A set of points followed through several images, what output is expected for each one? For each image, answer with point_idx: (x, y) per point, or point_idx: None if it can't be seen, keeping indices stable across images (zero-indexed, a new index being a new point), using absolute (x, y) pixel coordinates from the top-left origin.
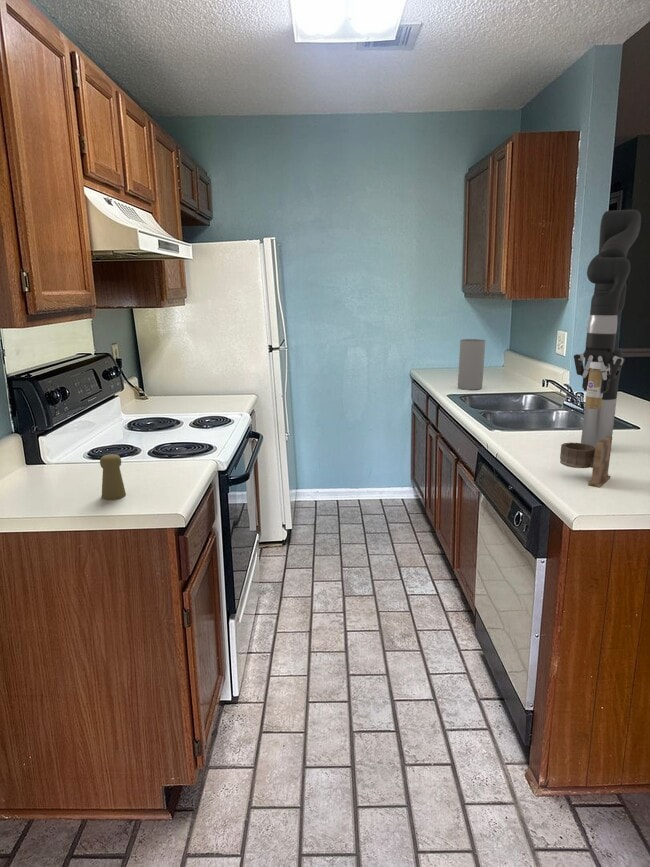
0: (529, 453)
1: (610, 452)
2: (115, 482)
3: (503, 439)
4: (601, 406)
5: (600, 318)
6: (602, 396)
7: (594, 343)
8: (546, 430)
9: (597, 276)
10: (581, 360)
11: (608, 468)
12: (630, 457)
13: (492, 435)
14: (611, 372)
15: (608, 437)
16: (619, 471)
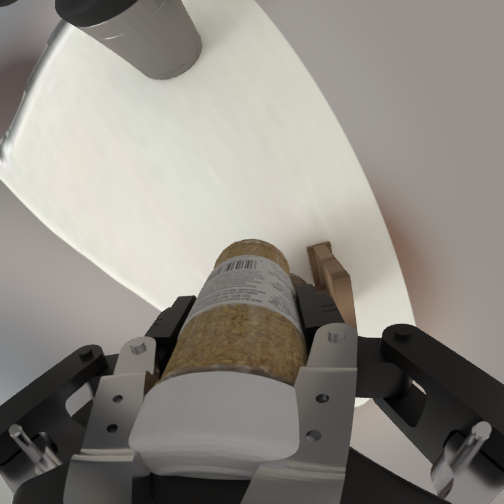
0: (113, 221)
1: (337, 260)
2: None
3: (35, 183)
4: (285, 260)
5: None
6: (292, 285)
7: None
8: (48, 55)
9: None
10: (60, 464)
11: (328, 249)
12: (264, 50)
13: (16, 180)
14: (395, 420)
15: (343, 288)
16: (314, 173)
